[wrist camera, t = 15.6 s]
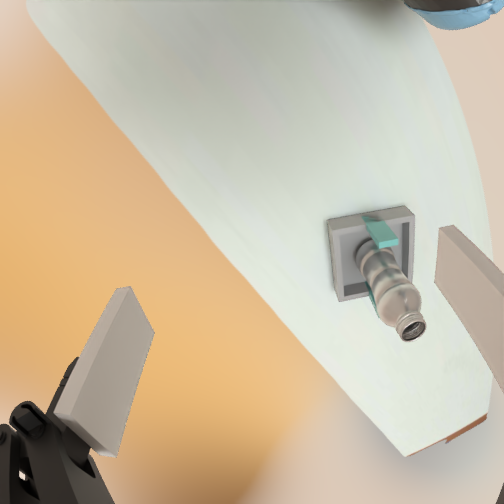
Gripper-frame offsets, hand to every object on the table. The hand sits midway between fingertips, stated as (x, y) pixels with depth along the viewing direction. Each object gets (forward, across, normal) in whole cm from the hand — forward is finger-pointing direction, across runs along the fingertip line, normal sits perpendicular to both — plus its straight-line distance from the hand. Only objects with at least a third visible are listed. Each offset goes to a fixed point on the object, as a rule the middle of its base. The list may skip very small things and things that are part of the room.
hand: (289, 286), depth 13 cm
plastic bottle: (+36, +14, -22) cm, 44 cm away
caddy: (+37, +14, -22) cm, 45 cm away
